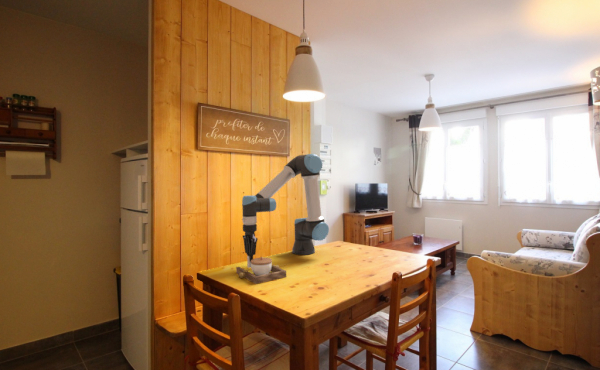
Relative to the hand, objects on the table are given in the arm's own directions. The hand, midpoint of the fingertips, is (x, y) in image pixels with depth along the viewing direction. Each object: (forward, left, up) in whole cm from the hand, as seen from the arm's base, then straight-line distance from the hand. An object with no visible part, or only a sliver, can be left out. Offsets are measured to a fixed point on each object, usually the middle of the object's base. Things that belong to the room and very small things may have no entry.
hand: (250, 267), depth 163 cm
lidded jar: (0, +13, -2) cm, 13 cm away
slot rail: (0, +11, -1) cm, 11 cm away
